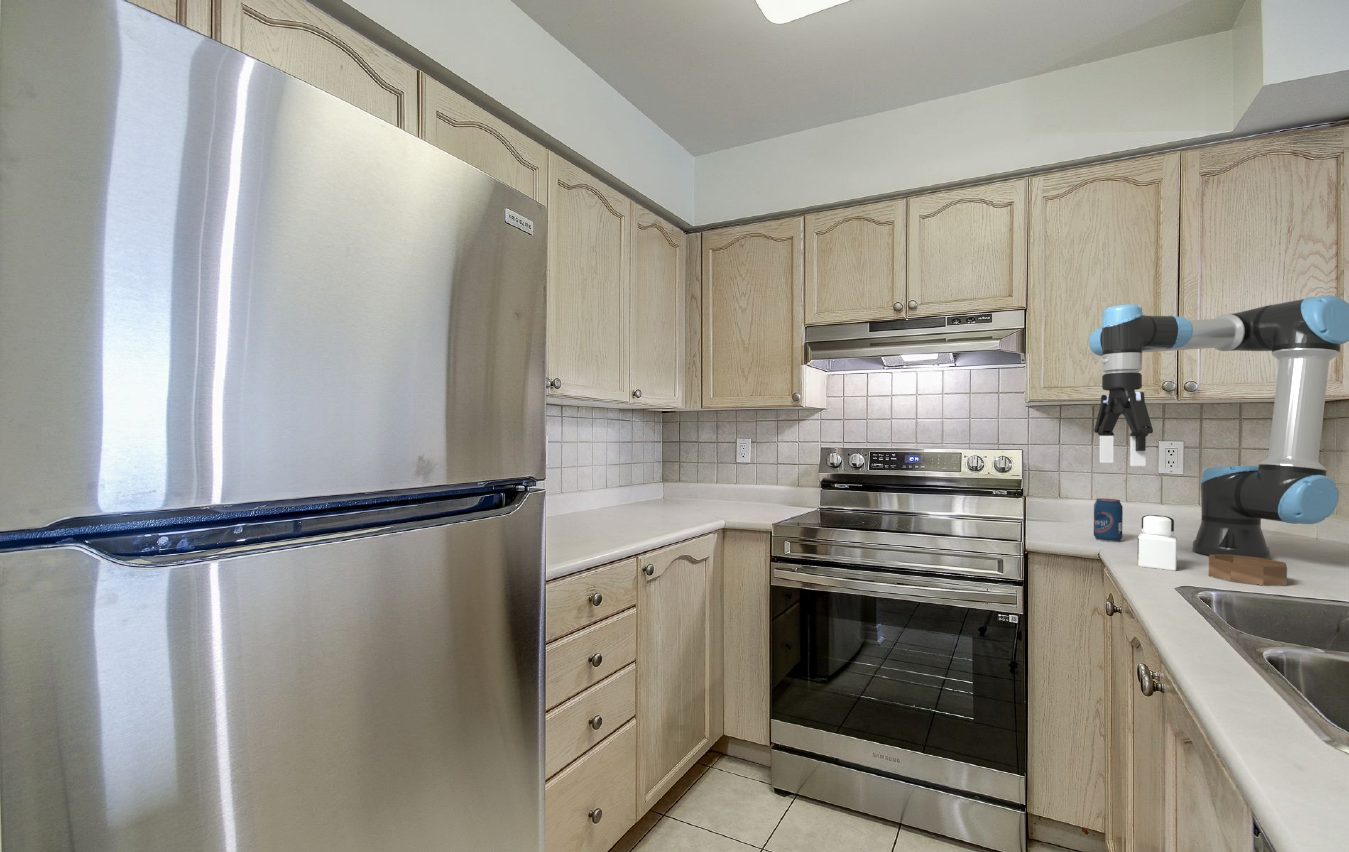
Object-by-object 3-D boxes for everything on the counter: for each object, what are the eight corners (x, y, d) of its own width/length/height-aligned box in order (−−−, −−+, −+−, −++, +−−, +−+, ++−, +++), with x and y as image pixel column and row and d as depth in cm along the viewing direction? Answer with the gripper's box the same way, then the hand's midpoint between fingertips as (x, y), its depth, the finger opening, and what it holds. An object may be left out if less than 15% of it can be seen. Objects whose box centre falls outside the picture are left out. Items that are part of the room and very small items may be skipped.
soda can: (1088, 539, 185) (1089, 498, 185) (1101, 537, 188) (1101, 497, 189) (1114, 543, 179) (1114, 501, 179) (1127, 541, 182) (1127, 500, 182)
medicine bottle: (1139, 562, 153) (1139, 512, 153) (1176, 566, 149) (1177, 515, 149) (1137, 566, 148) (1138, 515, 148) (1176, 571, 143) (1176, 518, 143)
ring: (1245, 572, 143) (1246, 554, 143) (1303, 585, 131) (1303, 566, 131) (1194, 572, 142) (1194, 554, 142) (1246, 585, 130) (1247, 566, 130)
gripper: (1078, 377, 158) (1078, 461, 158) (1133, 367, 134) (1133, 467, 134) (1111, 377, 157) (1111, 461, 157) (1173, 367, 133) (1172, 467, 132)
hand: (1121, 464), depth 145 cm, fingers open, 13 cm apart
